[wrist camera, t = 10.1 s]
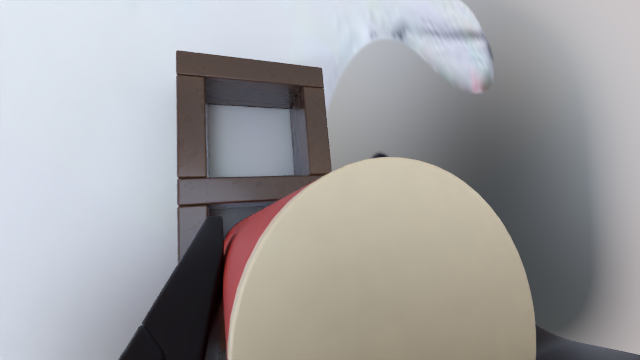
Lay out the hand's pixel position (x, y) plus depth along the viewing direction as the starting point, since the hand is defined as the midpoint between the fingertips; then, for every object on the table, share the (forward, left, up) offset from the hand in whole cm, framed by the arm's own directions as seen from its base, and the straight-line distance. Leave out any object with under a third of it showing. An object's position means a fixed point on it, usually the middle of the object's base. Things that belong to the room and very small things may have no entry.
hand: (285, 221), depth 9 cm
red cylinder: (-1, +1, -7) cm, 7 cm away
